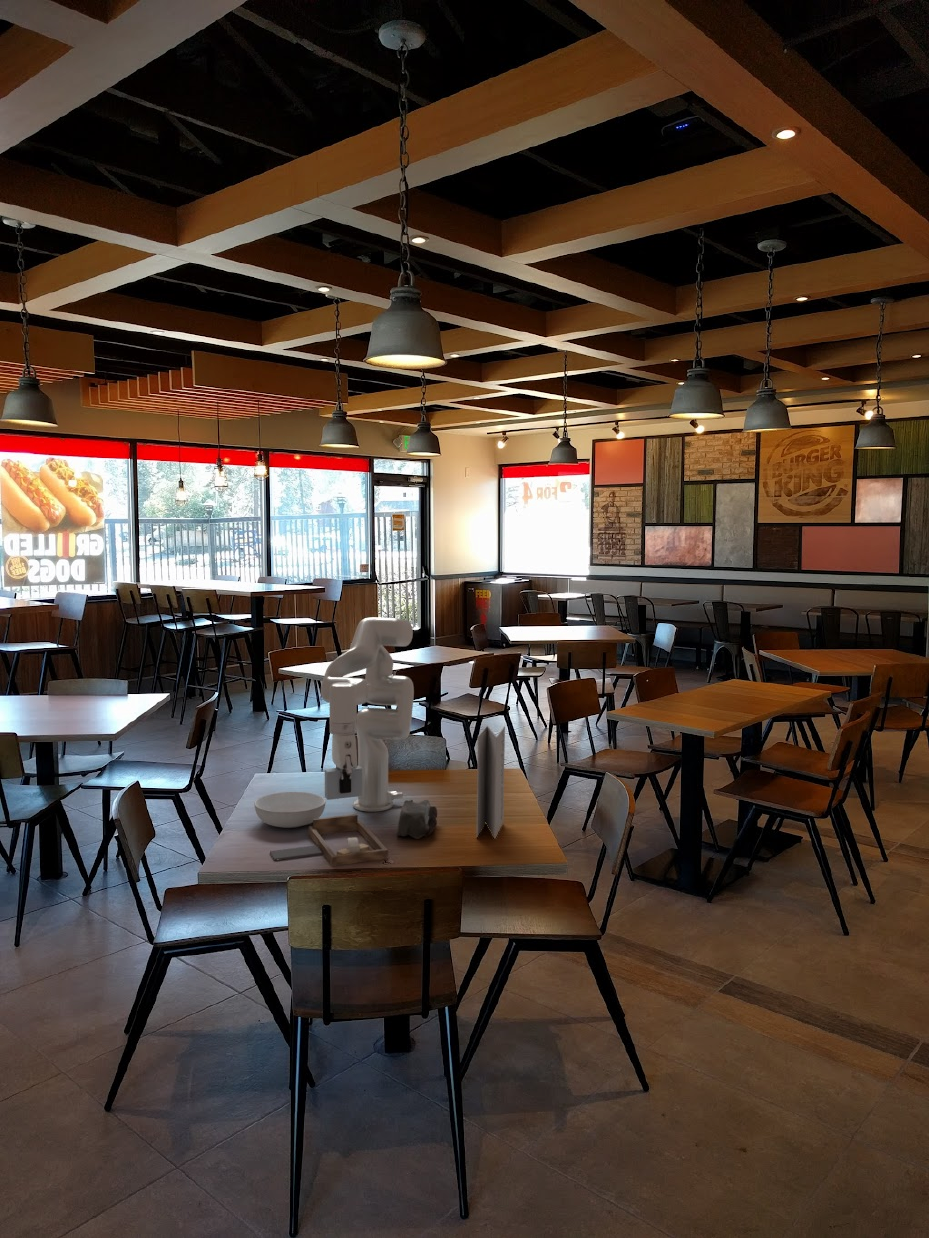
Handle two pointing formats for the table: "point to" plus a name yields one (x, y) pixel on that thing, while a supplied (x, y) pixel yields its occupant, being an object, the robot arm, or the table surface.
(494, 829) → the brochure
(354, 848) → the offcut upper
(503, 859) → the table surface
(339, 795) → the light grey block
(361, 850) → the offcut lower
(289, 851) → the mat
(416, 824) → the rock
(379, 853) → the wooden tray
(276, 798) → the serving bowl
